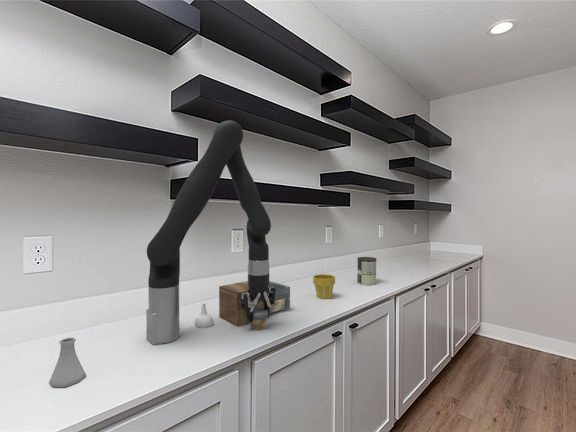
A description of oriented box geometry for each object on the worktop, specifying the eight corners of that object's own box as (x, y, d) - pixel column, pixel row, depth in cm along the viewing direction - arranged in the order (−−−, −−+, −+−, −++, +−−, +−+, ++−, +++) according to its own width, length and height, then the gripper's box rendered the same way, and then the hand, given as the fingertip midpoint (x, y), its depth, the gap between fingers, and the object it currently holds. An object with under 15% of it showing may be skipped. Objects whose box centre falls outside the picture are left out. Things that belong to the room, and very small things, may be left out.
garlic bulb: (215, 323, 117) (215, 301, 118) (210, 328, 111) (210, 305, 111) (198, 323, 117) (199, 301, 118) (192, 328, 111) (193, 304, 112)
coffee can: (353, 283, 177) (353, 258, 177) (364, 280, 184) (364, 256, 184) (369, 286, 170) (369, 260, 169) (379, 283, 177) (380, 258, 176)
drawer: (262, 316, 120) (262, 292, 120) (243, 308, 130) (243, 286, 129) (292, 308, 131) (292, 286, 130) (272, 301, 140) (272, 280, 140)
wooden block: (257, 330, 109) (257, 319, 109) (250, 327, 112) (250, 316, 112) (266, 327, 112) (266, 316, 112) (259, 324, 115) (259, 313, 115)
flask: (42, 384, 76) (41, 343, 75) (72, 370, 83) (71, 332, 82) (63, 391, 73) (62, 348, 73) (92, 375, 80) (91, 336, 80)
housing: (237, 326, 113) (237, 293, 112) (219, 317, 122) (219, 286, 122) (268, 317, 122) (268, 286, 122) (249, 309, 131) (249, 280, 131)
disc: (256, 321, 107) (256, 315, 107) (245, 316, 112) (245, 310, 112) (271, 316, 112) (271, 310, 111) (260, 312, 116) (260, 306, 116)
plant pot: (308, 296, 151) (308, 276, 150) (323, 292, 157) (323, 273, 157) (324, 301, 143) (324, 280, 143) (339, 297, 150) (339, 276, 149)
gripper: (247, 277, 104) (247, 327, 104) (281, 271, 113) (281, 317, 114) (235, 273, 109) (235, 321, 110) (268, 268, 119) (267, 312, 119)
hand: (258, 319), depth 112 cm, fingers closed on disc, 6 cm apart
